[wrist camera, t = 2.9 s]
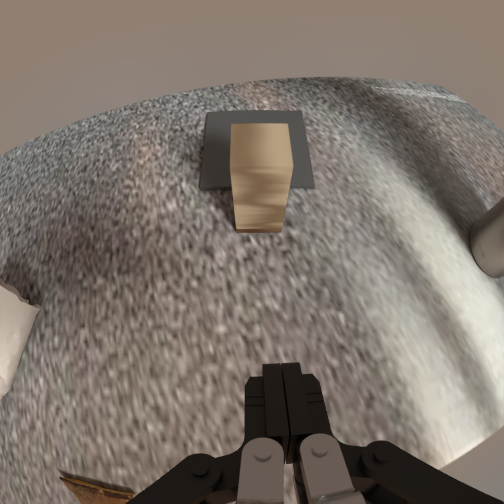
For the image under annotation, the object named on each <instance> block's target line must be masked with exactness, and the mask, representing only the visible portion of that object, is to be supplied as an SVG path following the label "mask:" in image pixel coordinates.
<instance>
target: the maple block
mask: <svg viewBox="0 0 504 504" xmlns="http://www.w3.org/2000/svg"><path fill="white" fill-rule="evenodd" d="M292 171H293V159H292V151H291V144H290V136H289V129H288V124H275V123H254V124H231V147H230V173H231V183H232V193H233V202H234V212H235V221H236V231H237V233H266V232H281V230H282V224H283V219H284V214H285V209H286V204H287V198H288V193H289V188H290V182H291V177H292Z"/></svg>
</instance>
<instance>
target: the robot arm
mask: <svg viewBox="0 0 504 504" xmlns="http://www.w3.org/2000/svg"><path fill="white" fill-rule="evenodd" d="M470 246H471V250H472V253H473V256H474V258H475V260H476V262H477V264H478V265H479V267H480V268H481V269H482V270H483V271H484V272H485V273H486V274H487V275H489V276H491V277H493V278H500V277H502V276H504V197H503V198H502V199H501V200H500V201H499V202H498V203H497V204H496V205H494V206H493V207H492V208H491V209H490V210H489V211H488V212H486V213H485V214H484V215H483V216H482V217H481V218H480V219H478V220H477V221H476V222H475V223H474V224H473V225H472V227H471V230H470ZM285 459H286V464H292V463H293V469H294V475H293V484H294V489H295V493H296V498H297V503H298V504H504V502H503V501H501V500H499V499H496V498H494V497H492V496H490V495H487V494H485V493H483V492H481V491H479V490H477V489H475V488H473V487H470V486H469V485H466V484H464V483H462V482H460V481H458V480H456V479H455V478H453V477H450V476H449V475H447V474H445V473H443V472H441V471H439V470H437V469H436V468H434V467H432V466H430V465H428V464H426V463H425V462H423V461H421V460H419V459H418V458H416V457H414V456H412V455H411V454H409V453H407V452H405V451H404V450H402V449H400V448H399V447H397V446H395V445H394V444H392V443H390V442H388V441H381V440H380V441H374V442H372V443H370V444H369V445H367V446H366V447H360V446H351V445H346V444H343V443H341V442H340V441H338V440H337V439H336V438H335V437H334V436H333V434H332V432H331V428H330V424H329V419H328V415H327V411H326V407H325V403H324V399H323V395H322V390H321V386H320V382H319V381H318V380H317V379H316V378H315V376H314V375H313V374H302V372H301V367H300V363H299V362H296V363H281V365H280V363H278V364H263V365H262V376H261V377H250V378H249V379H248V381H247V383H246V385H245V437H244V442H243V444H242V446H241V447H240V448H239V449H238V450H237V451H235V452H233V453H231V454H229V455H225V456H221V457H217V458H214V457H212V456H210V455H208V454H202V453H198V454H193V455H190V456H188V457H186V458H185V459H184V460H182V461H181V462H180V463H179V464H177V465H176V466H175V467H174V468H172V469H171V470H170V471H169V472H167V473H166V474H165V475H163V476H162V477H161V478H160V479H158V480H157V481H156V482H154V483H153V484H152V485H150V486H149V487H148V488H146V489H145V490H143V491H142V492H141V493H139V494H138V495H136V496H135V497H134V498H132V499H131V500H129V501H128V502H126V503H125V504H226V503H230V502H234V501H236V503H235V504H284V502H283V483H284V464H285Z"/></svg>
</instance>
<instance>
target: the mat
mask: <svg viewBox="0 0 504 504" xmlns="http://www.w3.org/2000/svg"><path fill="white" fill-rule="evenodd" d="M254 123H275V124H288V129H289V136H290V144H291V151H292V159H293V171H292V177H291V182H290V188H313V189H314V186H315V185H314V179H313V172H312V166H311V160H310V154H309V149H308V143H307V137H306V132H305V127H304V121H303V116H302V111H278V110H247V111H218V112H208V114H207V122H206V131H205V140H204V149H203V159H202V169H201V180H200V190H213V189H232V183H231V173H230V147H231V124H254Z"/></svg>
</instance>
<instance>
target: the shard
mask: <svg viewBox="0 0 504 504" xmlns="http://www.w3.org/2000/svg"><path fill="white" fill-rule="evenodd" d="M59 478H60V479H61V480H62V481H63V482H64V484H65V485H66V486H67V487H68V489H69V490H70V491H71V492H72V493H73V494H74V495H75V496H76V497H77V498H78V500H79V501H80V502H81V503H82V504H125V503H126V502H128V501H129V500H131V499H132V498H134V497H135V496H136V494H135V493H127V492H119V491H115V490H109V489H105V488H102V487H99V486H96V485H93V484H90V483H86V482H83V481H80V480H74V479H71V478H63V477H59Z"/></svg>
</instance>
